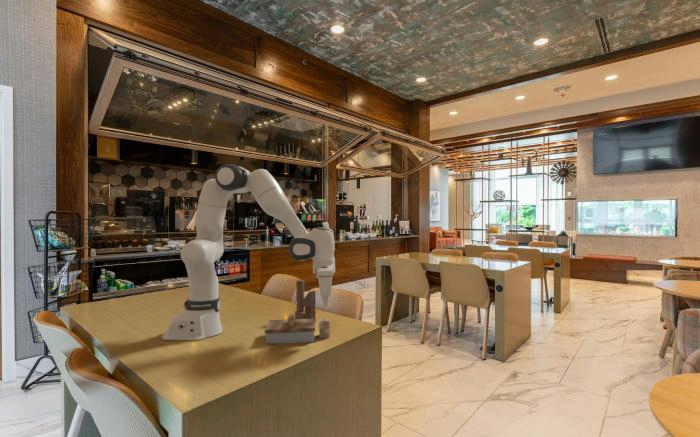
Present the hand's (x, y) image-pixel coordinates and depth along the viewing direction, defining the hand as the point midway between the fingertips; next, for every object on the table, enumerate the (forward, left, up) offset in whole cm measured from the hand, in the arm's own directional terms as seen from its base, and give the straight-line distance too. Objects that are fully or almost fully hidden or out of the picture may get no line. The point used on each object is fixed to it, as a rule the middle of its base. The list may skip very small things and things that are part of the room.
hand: (324, 303), depth 136 cm
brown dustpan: (-8, +23, -13) cm, 28 cm away
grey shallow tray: (-13, 0, -13) cm, 19 cm away
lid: (-13, 0, -9) cm, 16 cm away
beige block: (0, 0, -13) cm, 13 cm away
